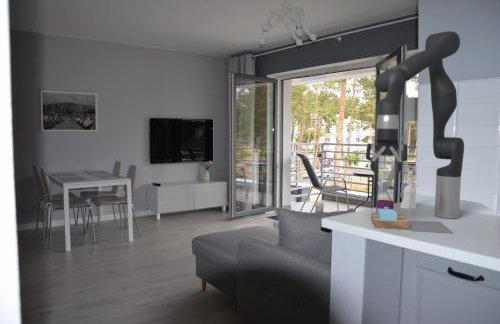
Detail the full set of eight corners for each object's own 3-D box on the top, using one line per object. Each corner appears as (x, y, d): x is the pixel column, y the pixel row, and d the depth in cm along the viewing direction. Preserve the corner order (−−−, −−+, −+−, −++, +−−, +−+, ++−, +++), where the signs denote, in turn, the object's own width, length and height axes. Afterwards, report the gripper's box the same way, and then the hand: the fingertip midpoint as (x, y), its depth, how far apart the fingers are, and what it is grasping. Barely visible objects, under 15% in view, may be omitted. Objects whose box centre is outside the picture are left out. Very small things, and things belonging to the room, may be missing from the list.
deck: (370, 219, 157) (371, 213, 157) (402, 220, 155) (402, 214, 155) (375, 227, 144) (375, 221, 144) (409, 229, 142) (409, 222, 141)
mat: (402, 220, 155) (402, 219, 155) (440, 222, 153) (440, 221, 153) (410, 231, 140) (410, 229, 140) (453, 233, 137) (453, 232, 137)
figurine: (420, 208, 181) (422, 170, 179) (405, 209, 179) (406, 170, 177) (410, 205, 187) (412, 168, 186) (395, 206, 186) (397, 168, 184)
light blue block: (377, 214, 154) (377, 208, 154) (392, 215, 153) (393, 209, 153) (380, 219, 146) (380, 213, 145) (397, 220, 144) (397, 214, 144)
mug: (377, 218, 159) (378, 202, 158) (373, 213, 169) (374, 198, 168) (394, 219, 158) (395, 202, 157) (389, 214, 168) (390, 198, 167)
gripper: (405, 128, 144) (403, 171, 146) (365, 127, 147) (364, 170, 148) (410, 127, 137) (408, 173, 138) (368, 127, 139) (366, 172, 140)
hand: (385, 172), depth 143 cm, fingers open, 8 cm apart
